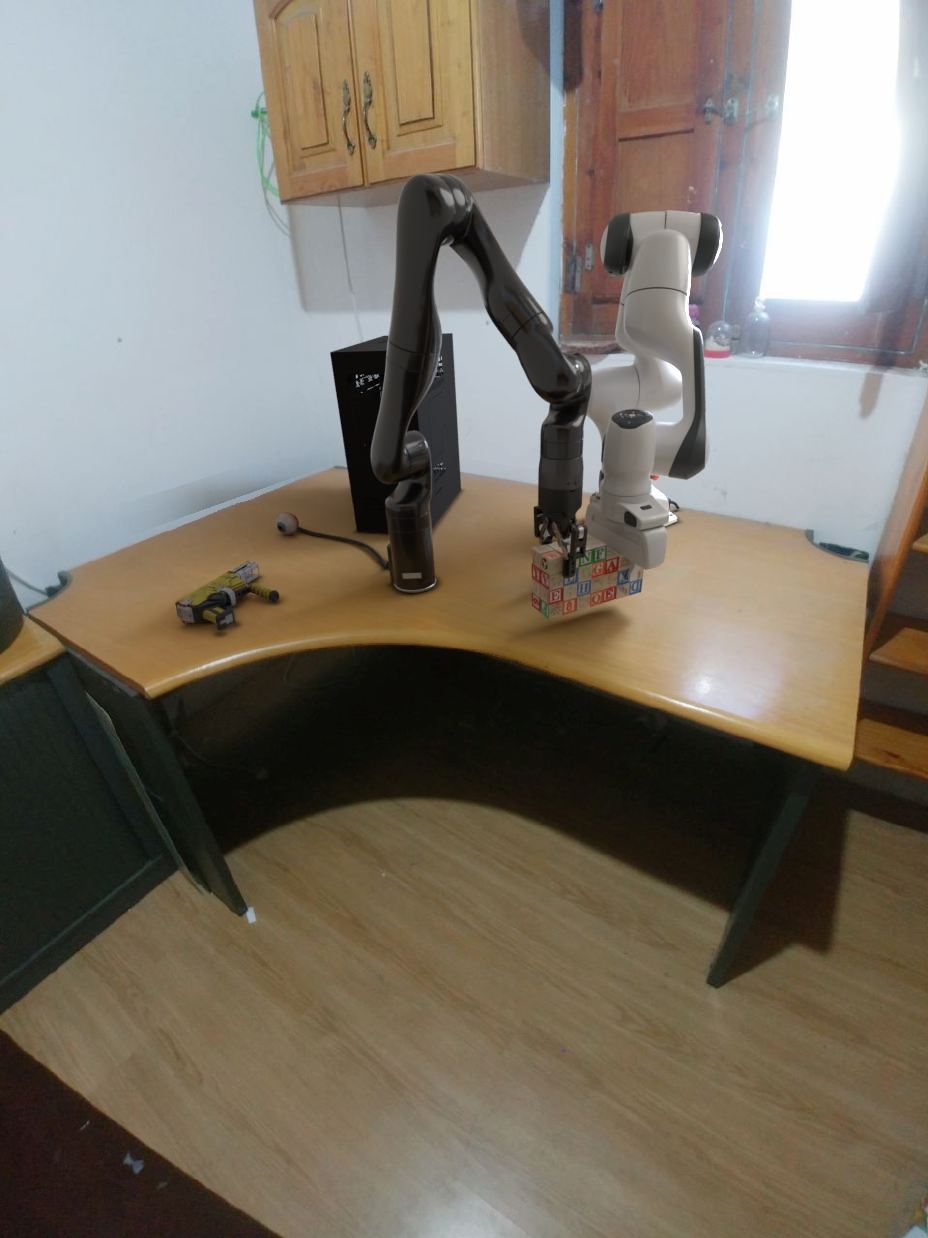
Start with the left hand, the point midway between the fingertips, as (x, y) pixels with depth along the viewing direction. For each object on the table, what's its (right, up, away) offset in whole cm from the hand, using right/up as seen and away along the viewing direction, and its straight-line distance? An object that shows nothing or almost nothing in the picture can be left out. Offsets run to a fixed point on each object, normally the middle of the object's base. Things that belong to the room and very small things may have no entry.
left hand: (557, 569), depth 110 cm
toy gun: (-65, -6, +20) cm, 69 cm away
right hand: (+13, 0, +7) cm, 15 cm away
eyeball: (-65, +14, +55) cm, 86 cm away
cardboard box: (-32, +23, +67) cm, 78 cm away
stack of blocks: (+7, -5, +6) cm, 11 cm away
